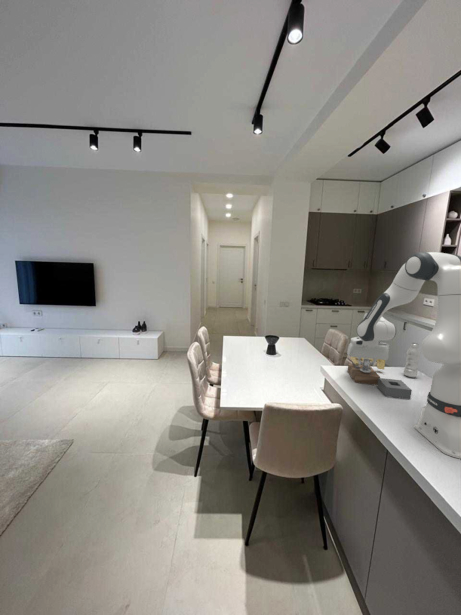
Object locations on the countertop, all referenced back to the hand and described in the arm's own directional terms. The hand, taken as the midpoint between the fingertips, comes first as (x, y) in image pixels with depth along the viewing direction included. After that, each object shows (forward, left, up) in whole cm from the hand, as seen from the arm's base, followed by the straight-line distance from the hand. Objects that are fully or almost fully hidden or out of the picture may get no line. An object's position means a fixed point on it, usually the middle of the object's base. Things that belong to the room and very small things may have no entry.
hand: (366, 365), depth 143 cm
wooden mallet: (+11, -5, -6) cm, 13 cm away
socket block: (+3, 0, -9) cm, 9 cm away
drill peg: (0, 0, -9) cm, 9 cm away
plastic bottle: (+13, -29, -9) cm, 33 cm away
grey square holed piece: (-12, -10, -9) cm, 18 cm away
